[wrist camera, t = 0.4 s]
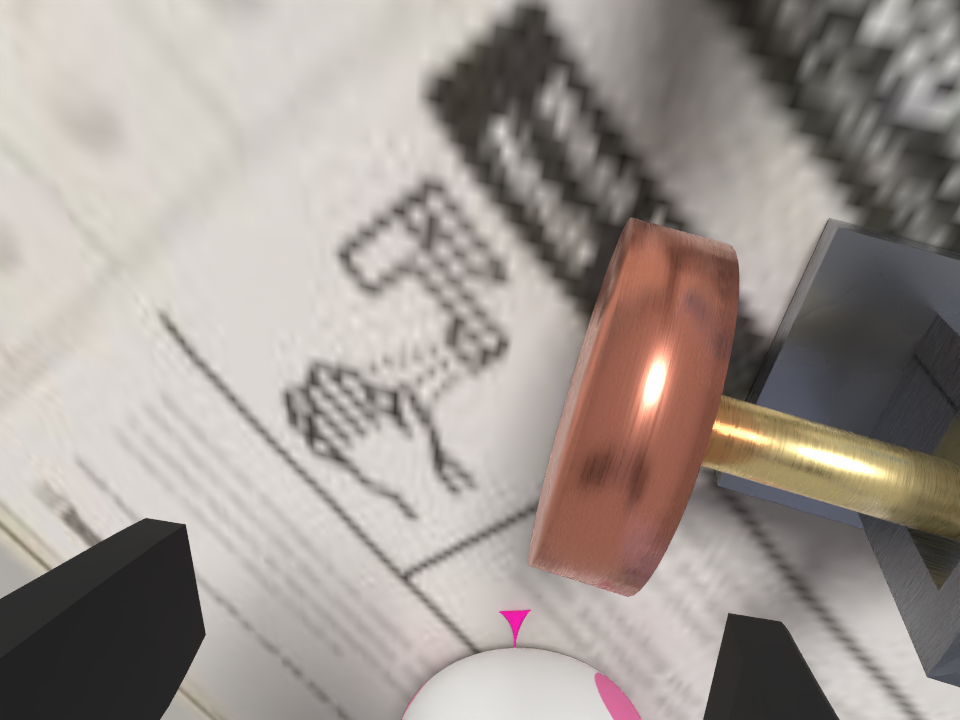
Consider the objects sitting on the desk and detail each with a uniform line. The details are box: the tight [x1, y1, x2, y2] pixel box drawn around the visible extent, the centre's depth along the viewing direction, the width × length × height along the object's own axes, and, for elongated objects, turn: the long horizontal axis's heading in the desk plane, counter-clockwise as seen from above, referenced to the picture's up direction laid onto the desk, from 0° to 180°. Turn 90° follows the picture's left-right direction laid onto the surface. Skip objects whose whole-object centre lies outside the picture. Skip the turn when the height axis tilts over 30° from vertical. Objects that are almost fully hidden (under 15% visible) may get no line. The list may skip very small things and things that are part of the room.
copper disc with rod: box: [528, 218, 960, 597], centre depth 14 cm, size 11×7×7 cm, turn 77°
